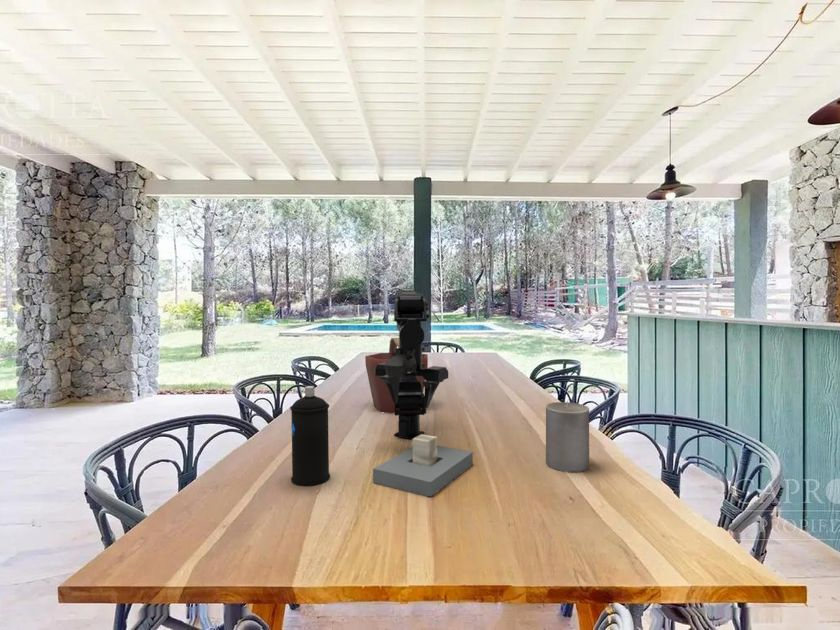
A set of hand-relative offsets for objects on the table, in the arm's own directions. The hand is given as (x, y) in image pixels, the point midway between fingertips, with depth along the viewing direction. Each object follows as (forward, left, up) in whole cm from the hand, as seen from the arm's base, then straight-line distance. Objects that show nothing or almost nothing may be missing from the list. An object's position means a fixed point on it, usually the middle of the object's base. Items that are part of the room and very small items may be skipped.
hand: (410, 405), depth 114 cm
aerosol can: (+25, -10, -12) cm, 30 cm away
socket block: (+10, +10, -12) cm, 18 cm away
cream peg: (+10, +10, -12) cm, 19 cm away
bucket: (-37, -29, -12) cm, 49 cm away
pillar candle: (-11, +36, -12) cm, 40 cm away
